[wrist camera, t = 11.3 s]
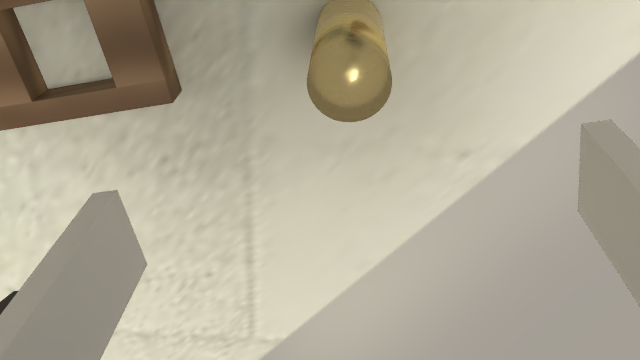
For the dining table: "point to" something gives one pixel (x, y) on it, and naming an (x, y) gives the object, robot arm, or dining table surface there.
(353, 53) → the peg
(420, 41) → the dining table surface
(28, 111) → the board
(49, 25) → the dining table surface
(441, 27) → the dining table surface
